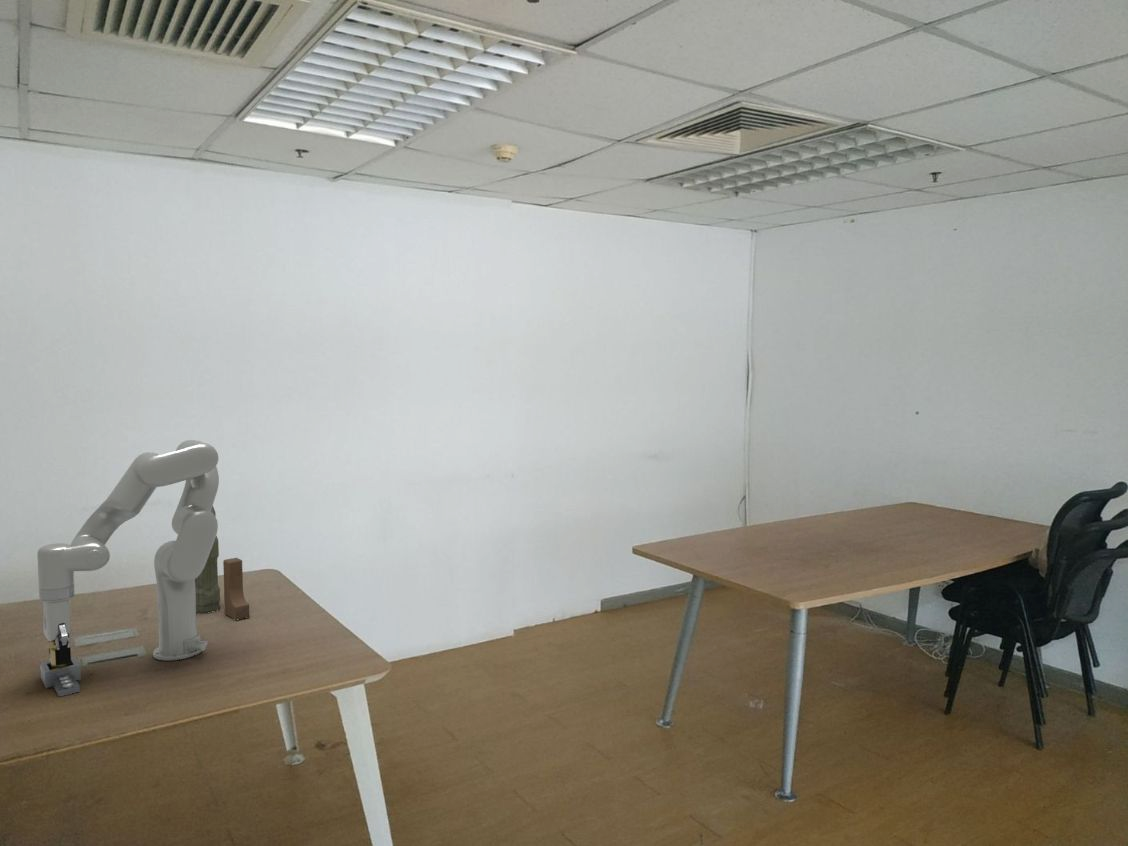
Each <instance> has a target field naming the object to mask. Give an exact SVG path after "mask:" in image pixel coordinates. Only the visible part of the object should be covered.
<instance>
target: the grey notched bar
mask: <svg viewBox="0 0 1128 846" xmlns="http://www.w3.org/2000/svg"><path fill="white" fill-rule="evenodd" d="M39 664H40V666H39V669H40V680H41V679H42V680H41V681H43V682H42V684H43V683H44V684H43V685H45V686H44V688H45V687H49V688H51V687H50V686H54V687H53V689H54V688H55V689H54V691H55V690H56V691H55V692H57V693H56V694H57V697H58V698H61V697H65V696H64V695H66V696H70V695H73V694H72V693H74V694H77V693H76V692H78V693H81V692H80V691H81V689H80V688H81V687H80V684H79V681H81V680H82V675H81V674H82V671H81V670H82V669H81V664H80V662H79V660H78V659H77V658H76V656H71V662H70V666H66V667H62V668H57V669H52V670H51V658H48V660H45V661H42V662H41V663H39ZM76 680H79V681H76ZM69 694H70V695H69ZM60 696H61V697H60Z"/></svg>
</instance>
